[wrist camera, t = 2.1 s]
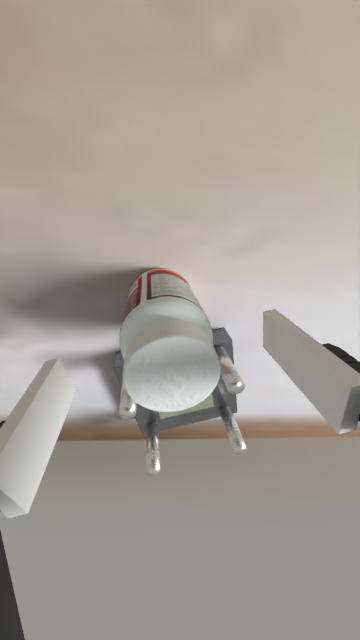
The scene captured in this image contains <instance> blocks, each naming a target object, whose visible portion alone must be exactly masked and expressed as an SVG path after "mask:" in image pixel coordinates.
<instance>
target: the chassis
mask: <svg viewBox="0 0 360 640" xmlns="http://www.w3.org/2000/svg"><path fill="white" fill-rule="evenodd" d="M212 333H213V343H212V344H213V346H214V349H215V351H216V354H217V356H218V358H219V362H220V368H221V370H220V378H219V381H218V383H217V385H216V387H215V388H214V390H213V392H212V393H211V394H210V395H209V396H208V397H207V398H206V399H204V400H203V401H202V402H200V403H198V404H196V405H195V406H193V407H190V408H188V409H184V410H180V411H174V412H159V411H154V410H150V409H147V408H145V407H143V406H141V405H139V404H137V403H136V402H135V401H134V400H132V398H131V397H130V396H129V395H128V393H127V391H126V389H125V387H124V384H123V367H124V359H123V356H122V353H121V351H120V352H117V353H116V357H115V362H114V367H113V368H114V370H115V372H116V375H117V377H118V379H119V382H120V384H121V386H122V390H121V397H120V404H119V411H118V416H119V417H120V418H122V419H125V420H129V419H132V418H134V417H135V419H136V421H137V423H138V426H139V428H140V430H141V433H142V435H145V434H147V475H149V476H156V475H158V474H159V473H160V472H161V468H160V448H159V431H162V430H166V429H170V428H174V427H178V426H182V425H187V424H191V423H195V422H199V421H203V420H207V419H211V418H216V417H220V416H221V417H222V420H223V423H224V426H225V429H226V431H227V434H228V437H229V440H230V442H231V446H232V448H233V451H234V454H236V455H241V454H244V453H245V452H246V451H247V447H246V445H245V442H244V440H243V437H242V435H241V432H240V430H239V427H238V425H237V423H236V420H235V418H234V415H233V413H236V412H237V402H236V394H238V393H240V392H242V391H243V389H244V387H245V385H244V383H243V381H242V379H241V378H240V376H239V374H238V372H237V370H236V368H235V367H234V360H233V346H232V339H231V338H230V336H229V335H228V333H227V331H226V330H225V328H221V329H217V330H212Z"/></svg>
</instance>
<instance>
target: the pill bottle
mask: <svg viewBox="0 0 360 640" xmlns="http://www.w3.org/2000/svg"><path fill="white" fill-rule="evenodd" d="M212 343H213V333H212V328H211V325H210V322H209V320H208V318H207V316H206V314H205V313H204V311H203V309H202V307H201V306H200V304H199V302H198V300H197V298H196V297H195V295H194V293H193V291H192V289H191V287H190V286H189V284H188V283H187V281H186V280H185V279H184V278H183V277H182V276H181V275H179V274H178V273H176V272H174V271H172V270H168V269H153V270H150V271H147V272H145V273H143V274H142V275H140V276H139V277H138V278H137V279H136V280H135V281H134V283H133V284H132V286H131V288H130V291H129V294H128V298H127V302H126V307H125V312H124V317H123V321H122V326H121V329H120V350H121V353H122V356H123V359H124V367H123V384H124V387H125V389H126V391H127V393H128V395H129V396H130V397H131V398H132V400H134V401H135V402H136V403H137V404H139V405H141V406H143V407H145V408H147V409H150V410H154V411H159V412H174V411H180V410H184V409H188V408H190V407H193V406H195V405H196V404H198V403H200V402H202V401H203V400H204V399H206V398H207V397H208V396H209V395H210V394H211V393H212V392H213V390H214V388H215V387H216V385H217V383H218V381H219V378H220V370H221V368H220V362H219V358H218V356H217V354H216V351H215V349H214V346H213V344H212Z"/></svg>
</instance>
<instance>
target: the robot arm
mask: <svg viewBox="0 0 360 640" xmlns="http://www.w3.org/2000/svg"><path fill="white" fill-rule="evenodd" d="M263 347H264V348H265V349H266V351H267V352H268V353H269V354H270V355H271V356H272V358H273V359H274V360H275V361H276V362H277V363H278V365H279V366H280V367H281V368H282V369H283V370H284V371H285V373H286V374H287V375H288V376H289V377H290V378H291V380H292V381H293V382H294V383H295V384H296V385H297V387H298V388H299V389H300V390H301V391H302V392H303V394H304V395H305V396H306V397H307V398H308V399H309V400H310V402H311V403H312V404H313V405H314V406H315V407H316V409H317V410H318V411H319V412H320V413H321V414H322V416H323V417H324V418H325V419H326V420H327V421H328V423H329V424H330V425H331V426H332V427H333V428H334V430H335V431H336V432H337V433H338V434H341V433H345V432H349V431H353V430H356V427H357V424H358V421H360V362H359V361H357V360H356V359H355V358H354V357H352V356H350V355H349V354H348V353H346V352H345V351H344V350H342V349H341V348H339V347H336V346H334V345H331V344H329V343H327V344H323V345H321V344H320V343H319V342H317V341H316V340H315V339H313V338H312V337H311V336H309V335H308V334H307V333H306V332H304V331H303V330H302V329H300V328H299V327H298V326H296V325H295V324H294V323H292V322H291V321H290V320H288V319H287V318H286V317H284V316H283V315H282V314H281V313H279V312H278V311H277V310H275V309H274V310H269V311H265V312H263ZM75 393H76V389H75V387H74V386H73V384H72V382H71V380H70V379H69V377H68V375H67V373H66V371H65V370H64V368H63V366H62V364H61V363H60V361H59V359H54V360H50V361H46V362H45V363H44V365H43V366H42V368H41V369H40V371H39V372H38V374H37V375H36V377H35V378H34V380H33V381H32V383H31V384H30V386H29V387H28V388H27V390H26V391H25V393H24V394H23V396H22V397H21V399H20V400H19V402H18V403H17V405H16V406H15V408H14V409H13V411H12V412H11V414H10V415H9V417H8V418H7V420H5V421H2V422H1V423H0V512H1V513H3V514H4V515H6V517H8V518H12V517H15V516H19V515H23V514H27V513H28V511H29V509H30V506H31V504H32V501H33V499H34V496H35V494H36V491H37V489H38V486H39V484H40V481H41V479H42V476H43V474H44V471H45V469H46V466H47V463H48V461H49V459H50V456H51V453H52V451H53V448H54V446H55V443H56V441H57V438H58V436H59V433H60V431H61V428H62V426H63V423H64V421H65V418H66V416H67V413H68V411H69V408H70V405H71V403H72V400H73V398H74V395H75ZM0 640H25V639H24V634H23V630H22V626H21V621H20V617H19V612H18V608H17V604H16V599H15V594H14V591H13V586H12V581H11V576H10V572H9V568H8V563H7V559H6V555H5V550H4V545H3V541H2V536H1V532H0Z"/></svg>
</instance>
